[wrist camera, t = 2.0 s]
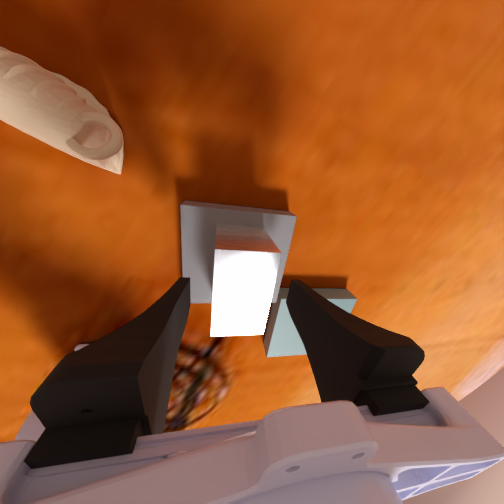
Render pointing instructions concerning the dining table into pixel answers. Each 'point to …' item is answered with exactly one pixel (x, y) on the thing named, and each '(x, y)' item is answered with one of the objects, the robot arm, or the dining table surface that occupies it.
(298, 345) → the stand
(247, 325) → the block
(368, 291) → the dining table surface
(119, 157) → the decorative ornament
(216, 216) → the stand
